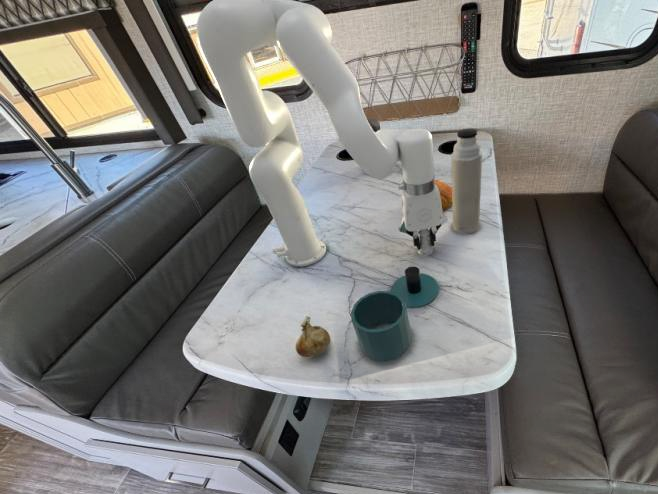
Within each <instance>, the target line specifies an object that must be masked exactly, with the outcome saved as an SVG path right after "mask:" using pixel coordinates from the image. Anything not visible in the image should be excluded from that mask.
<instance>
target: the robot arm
mask: <svg viewBox="0 0 658 494" xmlns="http://www.w3.org/2000/svg"><path fill="white" fill-rule="evenodd" d="M195 30H196V33H195V34H196V42H197V45H198V48H199V51H200V53H201V56H202V58H203V60H204V62H205V65H206V67H207V68H208V70H209V72H210V73H211V75H212V77H213V80H214V81H215V85H216V86H217V88H218V91H219V94H220V97H221V98H222V101H223V103H224V106H225V108H226V110H227V112H228V114H229V117H230V120H231V122H232V125H233V127H234V129H235V131H236V134H238V137H239V138H240V140H241V141H242V142H243V143H244V145H247V146H248V147H250V148H253V149H260V148H262V149H261V150H260V151H259V152H258V153H256V155H255V156H254V157H253V159H252V160H251V161H250V164H249V170H248V171H249V172H248V173H249V174H248V175H249V177H250V180H251V182H252V184H253V185H254V187H255V188H256V190H257V191H258V192H259V194H260V195H261V197H262V199H263V201H264V202H265V204H266V206H267V207H268V210H269V213H270V214H271V217H272V219H273V221H274V223H275V226H276V228H277V230H278V232H279V234H280V236H281V238H282V240H283V243H284V244H282V245H281V246H275V247H272V253H273V254H274V255H276V257H277V258H281V257H285V260H286V262H287V263H288V264H289V265H291V266H293V267H306V266H310V265H313V264H315V263H317V262H318V261H320V260H322V258H323V257H324V256H325V254H326V252H327V247H326V244H325V243H324V241H322V240H320V239H318V236H317V233H316V230H315V228H314V225H313V222H312V219H311V217H310V215H309V211H308V209H307V206H306V203H305V200H304V198H303V196H302V194H301V193H300V191H299V190H298V188H296V186H295V184H294V183H293V178H294V177H295V176H296V174H297V173H298V172H299V171H300V169H301V167H302V165H303V162H304V153H303V148H302V145H301V142H300V140H299V136H298V133H297V129H296V126H295V124H294V120H293V117H292V115H291V112H290V109H289V108H288V106H287V104H286V103H285V100H283V99H282V98H281V97H280V96H279V95H278V94H276V93H275V92H273V91H270V90H263V89H262V88H261V84H260V81H259V78H258V76H257V74H256V72H255V70H254V68H253V67H252V65H251V64H250V62H249V60H247V58H246V56H247V54H249V53H250V52H252V51H254V50H257V49H260V48H262V47H264V46H267V45H269V46H274V47H278V48H279V49H280V51H281V53H282V54H283V56H284V57H285V58H286V59H287V61H288V62H289V63H290V65H291V66H292V67H293V68H294V70H295V71H296V72H297V73H298V75H299V76H300V77H301V78H302V80H303V81H304V83H306V85H307V86H308V87H309V88H310V90H311V91H312V92H313V93H314V95H315V96H316V97H317V99H318V100H319V101H320V102H321V103H322V105H323V106H324V107H325V109H326V110H327V113H328V116H329V118H330V121H331V123H332V125H333V127H334V130H335V132H336V134H337V137H338V139H339V140H340V142H341V144H342V146H343V147H344V149H345V150H346V152H347V153H348V154H349V156H350V157H351V158H352V159H353V160H354V162H355V163H356V164H357V165H358V166H359V168H360V169H361V170H362V171H363V172H364V173H365V174H367V175H368V176H370V177H371V178H373V179H377V180H383V179H386V178H388V177H389V176H391V175H392V174H393V172H394V171H395V168H396V166H397V164H398V163H399V162H400V164H401V171H402V183H399V184H398V187H397V188H398V190H399V191H402V194H401V195H402V196H401V210H402V212H401V213H402V218H401V221H400V223H399V225H398V228H397V229H398V231H399V232H400V233H403V234H406V235H408V236H410V237H412V243H413V246H414V247H416V249H417V251H418V250H420V238H419V236H420V235H419V234H418V231H419V230H422V229H426V228H428V230H429V231H430V232H429V234H428V235H429V242H430V244H431V245H432V247H435V243H436V242H437V233H438V230H440V228H441V227H442V226H443V225H444V224H445V223H447V222H448V217H447V216H446V215H445V213H444V210H442V203H441V197H440V192H439V189H438V187H437V186H436V185H435V180H436V178H435V161H434V160H435V159H434V143H433V136H432V133H431V132H430V131H429V130H428V129H425V128H421V127H420V128H411V129H407V130H406V129H395V128H380V129H381V130H378V131H377V132H374V131H373V129H372V128H371V126H370V124H369V123H368V121H367V120H368V119H367V116H366V115H365V112H364V108H363V105H362V99H361V92H360V87H359V83H358V80H357V78H356V76H355V75H354V74H353V72H352V71H351V70H350V68H349V67H348V66H347V64H346V63H345V62H344V59H342V57H341V56H340V54H339V53H338V52H337V51H336V49H335V48H334V46H333V44H332V41H333V32H332V26H331V24H330V21H329V19H328V17H327V16H326V14H325V13H324V12H323V11H322V10H321V9H320V8H318V7H316V6H315V5H312V4H310V3H305V2H301V1H297V0H212V1H210V2H208V3H207V4H206V5H205V6H204V8H203V9H202V10H201V12H200V13H199V16H198V18H197V21H196V29H195Z"/></svg>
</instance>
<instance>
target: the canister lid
mask: <svg viewBox="0 0 658 494" xmlns="http://www.w3.org/2000/svg"><path fill="white" fill-rule="evenodd" d="M390 292H393V293H396V294H398V295H399V296H400V297H401V298H402V299H403V300H404V301H405V304H406V307H407V309H417V308H422V307H425V306H428V305H429V304H431V303H433V301H435V300H436V298H437V297H438V295H439V293H440V286H439V283H438V281H437V280H436V279H435V278H434V277H433V276H431V275H429V274H427V273H423V272H422V273H421V271H420V267H417V266H408V267H406V268H405V270H404V275H402V276H400V277H399V278H397V279H396V280H395V281H394V282H393V283H392V285H391V288H390Z"/></svg>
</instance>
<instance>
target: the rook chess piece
mask: <svg viewBox="0 0 658 494" xmlns="http://www.w3.org/2000/svg"><path fill="white" fill-rule="evenodd" d="M429 232H430V231H429V228H426V229H422V230H418V233H417V234H418V236H419V239H420V250H418V249H417V253H418V254H419V255H420V256H429V255H432V253H433V252H434V249H433V248H434V246H432V245H431V243H430V241H429Z"/></svg>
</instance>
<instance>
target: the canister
mask: <svg viewBox="0 0 658 494" xmlns="http://www.w3.org/2000/svg"><path fill="white" fill-rule="evenodd" d="M350 320H351V323H352V326H353V329H354V332H355V335H356V337H357V340H358V343H359V346H360V349H361V351H362V352H363V354H364V355H365V356H366V357H367V358H369V359H370V360H373V361H376V362H383V363H384V362H390V361H394V360H397V359H399V358H400V357H401V356H403V355H405V353H406V352H407V351H408V350H409V348H410V347H411V343H412V332H411V327H410V320H409V314H408V308H407V307H406V304H405V301H404V300H403V299H402V298H401V297H400V296H399V295H398V294H396V293H393V292H391V290H377V291H373V292H369V293H367V294H365V295H364V296H362V297H359V299H358V300H357V301H356V302H355V303H354V304H353V306H352V308H351V311H350ZM384 324H390V325H388V326H386V327H383V328H379V329H378V328H377V329H376V327H377V326H380V325H384Z"/></svg>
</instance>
